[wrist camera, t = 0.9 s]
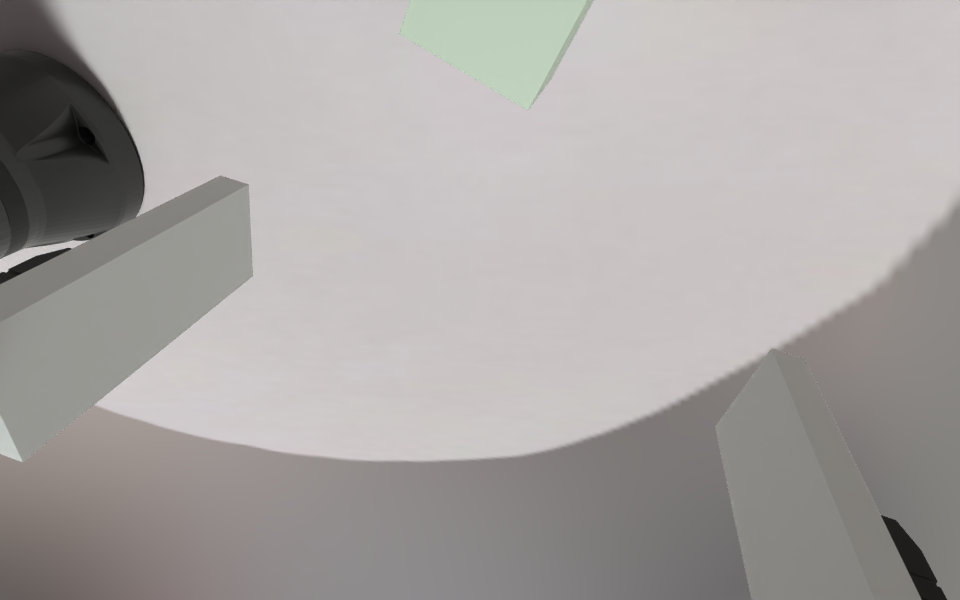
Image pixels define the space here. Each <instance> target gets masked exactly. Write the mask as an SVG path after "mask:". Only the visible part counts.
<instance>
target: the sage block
mask: <svg viewBox="0 0 960 600" xmlns="http://www.w3.org/2000/svg"><path fill="white" fill-rule="evenodd" d="M593 1H594V0H411V1H410V4H409V7H408V10H407V13H406V15H405V18H404V21H403V24H402V27H401V30H400V33H399V34H400V35H402V36H403V37H405V38H407V39H409V40H410V41H412V42H414V43H415V44H417V45H419V46H420V47H422V48H424V49H425V50H427V51H429V52H430V53H432V54H434V55H435V56H437V57H439V58H440V59H442V60H444V61H446V62H447V63H449V64H451V65H452V66H454V67H456V68H457V69H459V70H461V71H462V72H464V73H466V74H467V75H469V76H471V77H472V78H474V79H476V80H477V81H479V82H481V83H482V84H484V85H486V86H488V87H489V88H491V89H493V90H494V91H496V92H498V93H499V94H501V95H503V96H504V97H506V98H508V99H509V100H511V101H513V102H514V103H516V104H518V105H519V106H521V107H523V108H524V109H526V110H529V109H530V107H531V106H532V105H533V103H534V102H535V101H536V99H537V98H538V96H539V95H540V94H541V92H542V91H543V90H544V88H545V87H546V86H547V84H548V83H549V82H550V80H551V78H552V77H553V75H554V73H555V71H556V69H557V67H558V66H559V64H560V62H561V60H562V58H563V56H564V55H565V53H566V51H567V49H568V47H569V45H570V43H571V42H572V40H573V38H574V36H575V34H576V32H577V31H578V29H579V27H580V25H581V23H582V21H583V20H584V18H585V16H586V14H587V12H588V10H589V9H590V7H591V5H592V3H593Z"/></svg>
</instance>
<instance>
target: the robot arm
mask: <svg viewBox="0 0 960 600" xmlns="http://www.w3.org/2000/svg"><path fill="white" fill-rule="evenodd" d="M143 190H144V187H143V176H142V170H141V166H140V162H139V159H138V156H137V154H136V151H135V148H134V146H133V144H132V142H131V140H130V138H129V136H128V134H127V132H126V130H125V128H124V127H123V125H122V124H121V122H120V120H119V119H118V118H117V116H116V115H115V113H114V112H113V111H112V109H111V108H110V107H109V105H108V104H107V103H106V102H105V101H104V100H103V98H102V97H101V96H100V95H99V94H98V93H97V92H96V91H95V90H94V89H93V88H92V87H91V86H90V85H89V84H88V83H87V82H85V81H84V80H83V79H82V78H81V77H79V76H78V75H77V74H75V73H74V72H73V71H71V70H70V69H68V68H67V67H65V66H64V65H62V64H60V63H58V62H57V61H55V60H53V59H51V58H48V57H46V56H43V55H41V54H37V53H34V52H29V51H22V50H13V51H5V52H0V259H1V258H3V257H5V256H8V255H10V254H12V253H14V252H17V251H19V250H22V249H24V248H30V247H38V246H46V245H53V244H59V243H64V242H68V241H72V240H76V241H84V240H89V241H87V242H85V243H83V244H81V245H79V246H77V247H75V248H73V249H71V248H66V249H62V250H58V251H54V252H50V253H46V254H42V255H38V256H35V257H33V258H31V259H29V260H27V261H25V262H23V263H21V264H18V265H16V266H14V267H12V268H10V269H9V271H8V272H7V273H5V272H2V273H0V454H2V455H5V456H8V457H10V458H13V459H16V460H18V461H21V462H24V461H25V460H26V459H28V458H29V457H30V456H31V455H33V454H34V453H35V452H36V451H37V450H39V449H40V448H41V447H42V446H43V445H45V444H46V443H47V442H48V441H50V440H51V439H52V438H54V437H55V436H56V435H57V434H58V433H59V432H61V431H62V430H63V429H65V428H66V427H67V426H68V425H69V424H71V423H72V422H73V421H75V420H76V419H77V418H78V417H79V416H81V415H82V414H83V413H84V412H85V411H87V410H88V409H89V408H91V407H92V406H93V405H94V404H95V403H97V402H98V401H99V400H100V399H102V398H103V397H104V396H105V395H107V394H108V393H109V392H110V391H112V390H113V389H114V388H115V387H116V386H118V385H119V384H120V383H121V382H123V381H124V380H125V379H126V378H128V377H129V376H130V375H131V374H132V373H134V372H135V371H136V370H137V369H139V368H140V367H141V366H142V365H144V364H145V363H146V362H147V361H149V360H150V359H151V358H152V357H153V356H155V355H156V354H157V353H158V352H160V351H161V350H162V349H163V348H165V347H166V346H167V345H168V344H169V343H171V342H172V341H173V340H174V339H176V338H177V337H178V336H179V335H181V334H182V333H183V332H184V331H186V330H187V329H188V328H189V327H190V326H192V325H193V324H194V323H195V322H197V321H198V320H199V319H200V318H202V317H203V316H204V315H205V314H207V313H208V312H209V311H210V310H211V309H213V308H214V307H215V306H216V305H218V304H219V303H220V302H221V301H223V300H224V299H225V298H226V297H227V296H229V295H230V294H231V293H232V292H234V291H235V290H236V289H237V288H239V287H240V286H241V285H242V284H244V283H245V282H246V281H247V280H248V279H250V278H251V277H252V276H253V269H252V248H251V226H250V205H249V184H245V183H242V182H239V181H236V180H233V179H229V178H226V177H223V176H219V177H217V178H215V179H213V180H211V181H209V182H206V183H204V184H202V185H200V186H198V187H196V188H194V189H192V190H190V191H188V192H186V193H184V194H182V195H180V196H178V197H176V198H174V199H172V200H170V201H168V202H166V203H164V204H162V205H160V206H158V207H156V208H154V209H152V210H150V211H148V212H146V213H144V214H142V215H140V216H138V217H136V215H137V214H138V212H139V210H140V207H141V204H142V200H143ZM135 217H136V218H135ZM715 429H716V433H717V438H718V443H719V448H720V452H721V457H722V462H723V467H724V472H725V476H726V481H727V486H728V491H729V495H730V500H731V505H732V510H733V514H734V519H735V524H736V528H737V533H738V538H739V543H740V547H741V552H742V557H743V562H744V566H745V571H746V576H747V581H748V585H749V590H750V595H751V600H947V599H946V597H945V595H944V593H943V591H942V589H941V588H940V587H937V585H936V583H937V580H936V578H935V576H934V574H933V572H932V570H931V568H930V566H929V564H928V563H927V561H926V559H925V557H924V555H923V553H922V551H921V550H920V548H919V547H918V546H917V545H916V544H915V542H914V541H913V540H912V539H911V538H910V537H909V535H908V534H907V533H906V532H905V531H904V529H903V528H902V527H901V526H900V525H899V523H898V522H897V521H896V520H894V519H891V518H888V517H885V516H882V515H880V513H879V511H878V509H877V507H876V505H875V502H874V500H873V498H872V496H871V494H870V492H869V490H868V488H867V486H866V484H865V482H864V480H863V478H862V476H861V474H860V472H859V469H858V467H857V465H856V463H855V461H854V459H853V457H852V455H851V453H850V451H849V449H848V447H847V445H846V443H845V441H844V438H843V436H842V434H841V432H840V430H839V428H838V426H837V424H836V422H835V420H834V418H833V416H832V414H831V412H830V410H829V407H828V406H827V403H826V401H825V399H824V397H823V395H822V393H821V391H820V389H819V387H818V385H817V383H816V381H815V379H814V376H813V375H812V372H811V370H810V368H809V366H808V364H807V362H806V360H805V359H804V358H801V357H798V356H795V355H791V354H788V353H785V352H782V351H779V350H776V349H771V350H770V351H769V353H768V354H767V356H766V357H765V358H764V360H763V361H762V363H761V364H760V365H759V367H758V368H757V370H756V371H755V372H754V374H753V375H752V377H751V378H750V379H749V381H748V382H747V383H746V385H745V386H744V388H743V389H742V390H741V392H740V393H739V395H738V396H737V397H736V399H735V400H734V401H733V403H732V404H731V406H730V407H729V408H728V410H727V411H726V413H725V414H724V415H723V417H722V418H721V420H720V421H719V422H718V424H717V425H716V426H715Z"/></svg>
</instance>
